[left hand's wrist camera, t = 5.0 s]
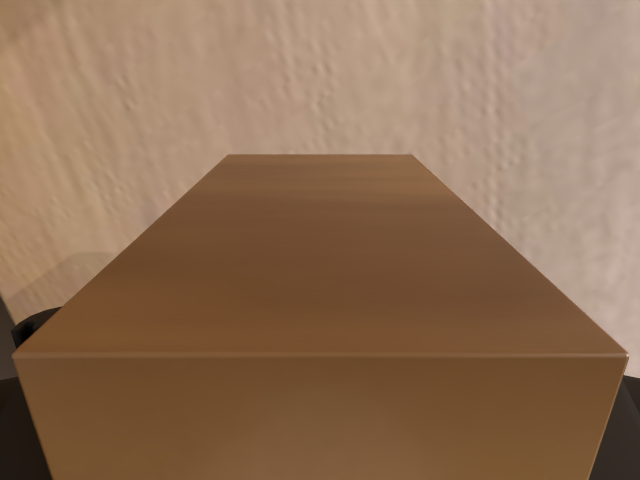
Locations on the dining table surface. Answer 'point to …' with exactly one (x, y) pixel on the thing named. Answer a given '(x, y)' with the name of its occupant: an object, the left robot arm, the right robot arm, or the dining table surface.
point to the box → (320, 340)
